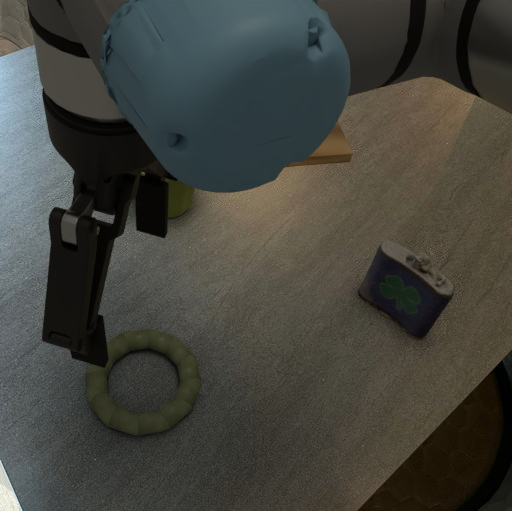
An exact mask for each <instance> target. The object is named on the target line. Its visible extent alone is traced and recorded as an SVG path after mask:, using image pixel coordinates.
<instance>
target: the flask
mask: <svg viewBox="0 0 512 511" xmlns="http://www.w3.org/2000/svg"><path fill="white" fill-rule="evenodd" d="M421 250H422V251H420V252H419V253H418V254H417V253H415V252H414V251H412V250H410V249H408V248H407V247H405V246H403V245H401V244H400V243H397V242H396V241H393V240H385V241H382V242H381V243H380V244H379V246H378V247H377V250H376V253H375V255H374V258H373V259H372V261H371V264H370V265H369V268H368V269H367V272H366V274H365V276H364V278H363V280H362V282H361V284H360V285H359V288H358V294H359V296H360V297H361V299H362V300H363V301H364V302H365V303H366V304H367V305H371V306H372V307H374V309H375V310H377V311H378V312H379V313H380V314H381V315H382V316H384V317H385V318H388V319H391V320H392V321H394V324H395V325H398V326H400V327H401V328H402V331H404V332H406V333H407V334H408V335H409V336H410V337H411V338H413V339H420V340H423V338H425V336H427V335H428V334H429V333H430V330H431V329H432V328H433V327H434V325H435V324H436V322H437V320H438V319H439V317H440V316H441V315H442V313H443V311H445V309H446V308H447V307H448V305H449V303H450V302H451V301H452V299H453V296H454V294H455V286H454V283H452V281H451V280H450V279H448V278H447V277H446V276H445V275H444V274H443V273H442V272H441V271H440V270H439V269H438V268H437V267H435V266H434V264H433V263H432V260H430V259H431V257H434V254H433V252H432V250H430V249H426V248H424V247H423V248H422V249H421ZM424 251H426V252H424Z"/></svg>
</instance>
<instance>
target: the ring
mask: <svg viewBox="0 0 512 511" xmlns="http://www.w3.org/2000/svg"><path fill="white" fill-rule="evenodd" d="M146 349H147V350H148V349H150V350H153V351H155V352H158V353H161V354H165V355H166V356H167V357H168V358H169V359H170V360H171V362H173V364H174V365H175V366H176V367H177V373H178V379H179V384H178V387H177V389H176V391H175V393H174V397H173V398H172V399H170V401H168V402H167V403H165V404H164V405H163V406H162V407H160V408H159V409H156V410H149V411H145V412H139V413H138V412H135V411H132V410H129V409H126V408H123V407H121V406H120V405H119V404H118V403H117V402H116V400H114V398H113V397H112V396H111V395H110V393H109V387H108V379H107V378H108V375H109V373H110V372H111V369H112V367H113V365H114V363H115V362H116V361H117V360H120V358H122V357H123V356H124V355H126V354H127V353H129V352H132V351H139V350H146ZM107 350H108V358H109V360H108V363H107V365H106V367H105V368H103V367H99V366H96V365H93V364H89V365H88V367H87V370H86V372H85V374H84V375H85V376H84V378H85V388H86V389H85V391H86V400H87V404H88V405H89V407H90V408H91V409H92V411H93V412H94V413H95V414H96V415H97V416H98V418H99V419H100V421H102V423H103V424H104V425H105V426H106V427H108V428H110V429H114V430H117V431H119V432H123V433H126V434H128V435H132V436H135V437H138V436H144V435H149V434H155V433H161V432H165V431H167V430H169V429H171V428H172V427H173V426H174V425H176V424H177V423H178V422H179V421H180V420H181V419H183V418H184V417H186V416H187V415H188V414H189V413H190V412H191V411H192V409H193V407H194V404H195V401H196V399H197V396H198V394H199V391H200V389H201V384H202V382H201V376H200V372H199V368H198V362H197V357H196V356H195V354H193V352H192V351H191V350H190V349H189V347H187V346H186V345H185V344H184V342H182V341H181V339H180V338H179V337H177V336H175V335H172V334H170V333H167V332H164V331H160V330H157V329H154V328H143V329H136V330H128V331H123V332H121V333H119V334H118V335H116V336H115V337H113V338H112V339H111V340H109V341H107Z"/></svg>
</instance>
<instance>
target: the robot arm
mask: <svg viewBox="0 0 512 511" xmlns="http://www.w3.org/2000/svg"><path fill="white" fill-rule="evenodd" d="M26 6H27V13H28V20H27V21H28V22H27V23H28V27H29V28H30V29H31V32H32V38H33V43H34V44H33V45H34V50H35V56H36V62H37V63H36V64H37V68H38V69H37V70H38V74H39V81H40V84H41V86H42V90H41V91H42V92H41V97H42V103H43V109H44V114H45V119H46V120H45V121H46V126H47V131H48V137H49V140H50V142H51V144H52V147H53V148H54V149H55V151H56V152H57V153H58V155H59V156H60V157H61V158H62V159H63V160H64V161H65V162H66V163H67V164H68V165H69V167H71V170H73V176H72V185H73V191H72V193H73V197H72V199H71V205H70V206H69V208H68V209H65V208H62V207H59V206H54V207H53V208H52V209H51V211H50V213H49V215H48V231H49V238H50V240H49V241H50V249H49V257H48V258H49V259H48V267H47V269H48V270H47V278H46V279H47V280H46V288H45V289H46V290H45V300H44V301H45V302H44V312H43V321H42V330H41V331H42V332H41V341H42V342H43V343H46V344H49V345H52V346H55V347H59V348H63V349H66V350H69V352H70V357H71V359H73V360H76V361H80V362H82V363H87V364H89V365H90V364H93V365H96V366H99V367H103V368H105V367H106V365H107V363H108V360H109V358H108V350H107V342H108V341H107V334H106V326H105V319H104V318H105V317H104V315H102V314H99V312H100V309H101V304H102V303H101V302H102V299H103V295H104V290H105V285H106V281H107V276H108V273H109V272H108V271H109V267H110V263H111V259H112V254H113V250H114V245H115V240H116V239H118V238H119V237H121V236H123V234H124V233H125V229H126V226H127V222H128V216H129V212H130V208H131V203H132V201H134V203H135V204H134V205H135V206H134V207H135V228H136V229H135V230H136V231H137V232H141V233H144V234H148V235H151V236H155V237H158V238H161V239H166V237H167V235H168V232H169V231H168V230H169V229H168V228H169V218H168V195H169V183H167V182H166V179H168V180H172V181H176V182H177V180H179V181H181V182H183V183H185V184H187V185H189V186H191V187H194V188H195V189H197V190H200V191H204V192H210V193H216V194H219V193H220V194H223V193H224V194H231V193H241V192H244V191H250V190H253V189H255V188H259V187H261V186H264V185H266V184H269V183H271V182H274V181H276V179H278V177H279V176H280V175H281V173H282V172H283V170H284V169H285V168H287V167H289V166H288V165H289V164H291V163H292V162H303V161H304V160H305V159H307V158H308V157H309V156H310V155H311V154H312V153H314V152H315V150H316V149H317V148H318V147H319V146H320V145H321V144H322V143H323V142H324V140H325V139H326V138H327V137H328V135H329V134H330V133H331V131H332V130H333V128H334V126H335V125H336V123H337V121H338V122H339V119H340V117H341V115H342V114H343V111H344V109H345V106H346V103H347V100H348V97H351V96H356V95H359V94H363V93H366V92H370V91H374V90H376V89H377V90H378V89H381V88H386V87H389V86H393V85H396V84H400V83H401V84H402V83H405V82H408V81H412V80H416V79H421V78H434V79H438V80H442V81H444V82H445V83H447V84H449V85H452V86H453V87H456V88H457V89H459V90H460V91H463V92H465V93H467V94H470V95H473V96H475V97H477V98H479V99H482V100H483V101H485V102H487V103H489V104H490V105H493V106H495V107H497V108H499V109H501V110H502V111H505V112H507V113H509V114H511V115H512V0H26ZM141 172H144V173H145V176H142V175H141ZM94 211H95V212H97V213H100V214H104V215H108V216H113V217H114V218H113V221H112V223H111V222H109V221H104V220H101V219H97V218H96V217H94V216H93V214H94Z"/></svg>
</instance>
